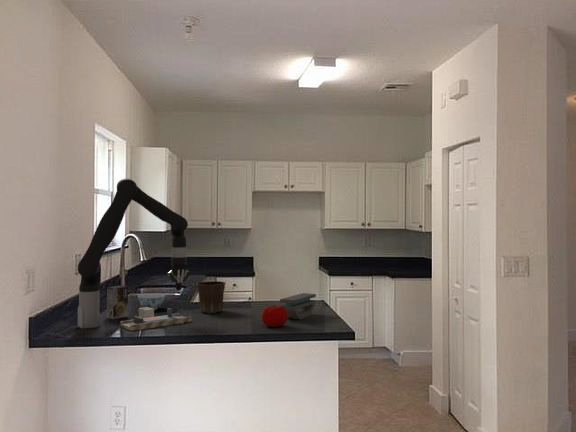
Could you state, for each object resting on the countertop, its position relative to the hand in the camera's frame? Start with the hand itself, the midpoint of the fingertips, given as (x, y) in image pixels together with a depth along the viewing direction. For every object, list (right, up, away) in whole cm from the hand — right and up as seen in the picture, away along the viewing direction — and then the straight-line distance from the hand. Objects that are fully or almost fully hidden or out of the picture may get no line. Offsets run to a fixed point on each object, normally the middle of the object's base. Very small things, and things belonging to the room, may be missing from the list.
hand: (178, 290), depth 266 cm
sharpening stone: (+61, -16, +10) cm, 64 cm away
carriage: (-9, -14, -8) cm, 18 cm away
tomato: (+49, -16, -14) cm, 54 cm away
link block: (-17, -16, +2) cm, 23 cm away
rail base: (-9, -16, -8) cm, 20 cm away
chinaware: (-23, -16, +34) cm, 44 cm away
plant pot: (+13, -16, +26) cm, 33 cm away
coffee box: (-34, -16, +10) cm, 39 cm away
